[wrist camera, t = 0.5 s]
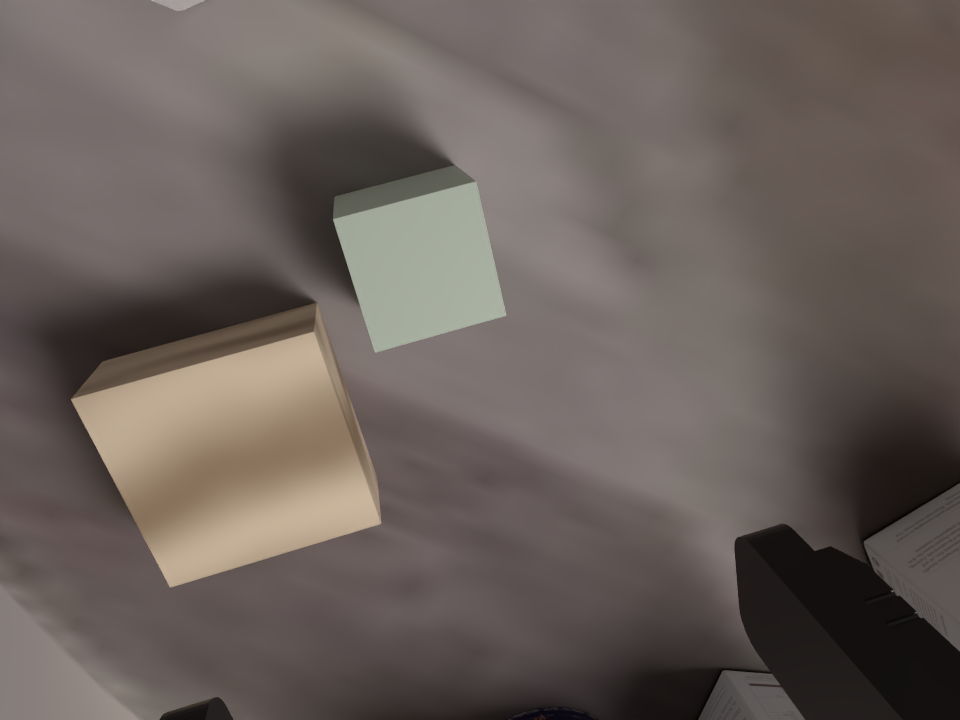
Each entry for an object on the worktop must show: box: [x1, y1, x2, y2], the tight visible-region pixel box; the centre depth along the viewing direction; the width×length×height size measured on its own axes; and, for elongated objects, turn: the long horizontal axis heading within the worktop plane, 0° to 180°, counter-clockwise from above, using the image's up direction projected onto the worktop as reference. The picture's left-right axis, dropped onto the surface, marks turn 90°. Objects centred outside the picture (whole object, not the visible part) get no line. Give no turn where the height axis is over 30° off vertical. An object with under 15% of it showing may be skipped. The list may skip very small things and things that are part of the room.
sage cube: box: [333, 165, 506, 352], centre depth 27 cm, size 5×5×5 cm
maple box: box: [71, 303, 381, 587], centre depth 29 cm, size 9×9×4 cm
